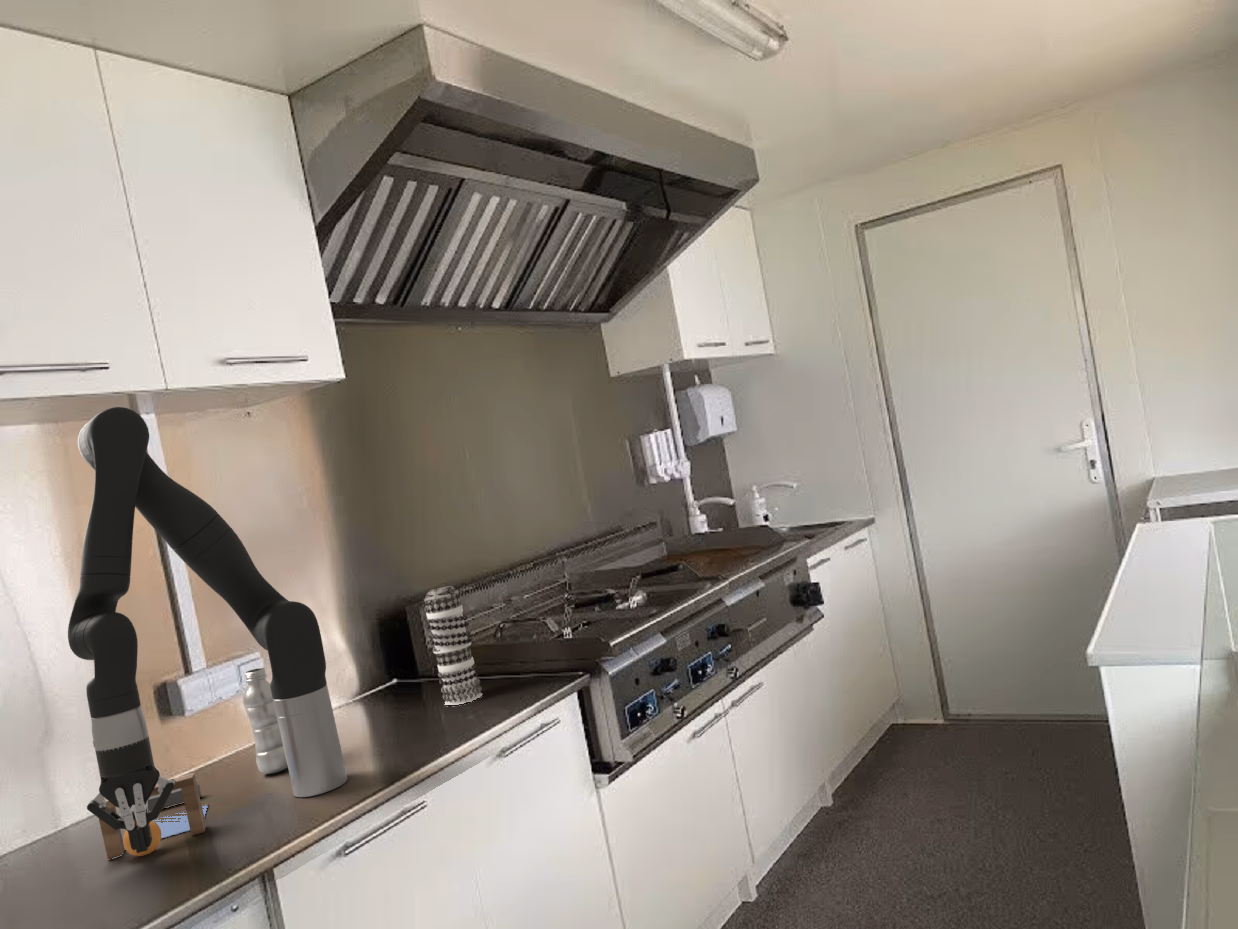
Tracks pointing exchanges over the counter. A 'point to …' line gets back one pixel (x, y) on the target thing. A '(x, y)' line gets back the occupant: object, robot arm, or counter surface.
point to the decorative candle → (451, 646)
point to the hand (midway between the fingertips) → (142, 850)
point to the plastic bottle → (264, 723)
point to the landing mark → (175, 824)
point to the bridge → (185, 782)
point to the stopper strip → (169, 798)
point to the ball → (154, 844)
